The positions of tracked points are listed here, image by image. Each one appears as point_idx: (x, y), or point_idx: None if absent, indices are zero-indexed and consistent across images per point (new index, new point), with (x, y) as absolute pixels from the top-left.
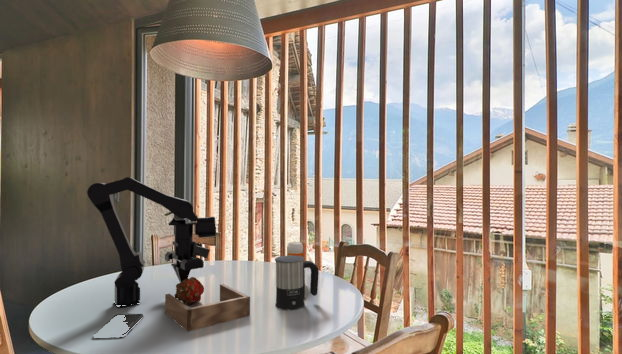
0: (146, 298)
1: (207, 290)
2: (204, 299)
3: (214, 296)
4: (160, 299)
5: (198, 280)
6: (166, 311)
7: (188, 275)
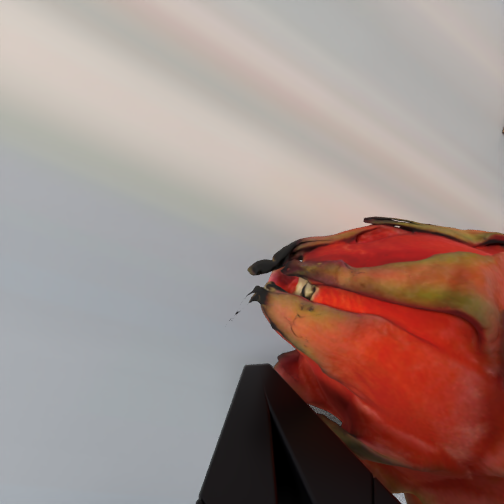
0: (92, 481)
1: (145, 33)
2: (373, 199)
3: (366, 91)
4: (169, 425)
5: (489, 290)
6: None
7: (387, 491)
